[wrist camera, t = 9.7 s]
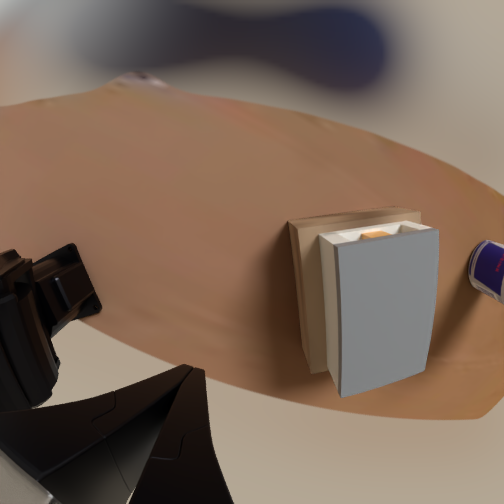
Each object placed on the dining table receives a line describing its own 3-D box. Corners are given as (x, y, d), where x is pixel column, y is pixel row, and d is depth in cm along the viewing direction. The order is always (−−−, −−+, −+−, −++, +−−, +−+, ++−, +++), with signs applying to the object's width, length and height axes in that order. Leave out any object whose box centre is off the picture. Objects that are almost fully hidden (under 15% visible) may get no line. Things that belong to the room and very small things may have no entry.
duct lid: (337, 391, 16) (340, 398, 16) (333, 244, 14) (337, 247, 13) (419, 365, 16) (424, 370, 15) (432, 227, 14) (438, 229, 13)
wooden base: (302, 346, 23) (311, 374, 19) (287, 220, 21) (297, 228, 17) (393, 325, 23) (414, 346, 19) (393, 206, 20) (420, 211, 17)
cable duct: (327, 365, 19) (337, 391, 16) (318, 233, 17) (333, 243, 14) (402, 345, 19) (419, 365, 16) (407, 220, 17) (432, 227, 14)
